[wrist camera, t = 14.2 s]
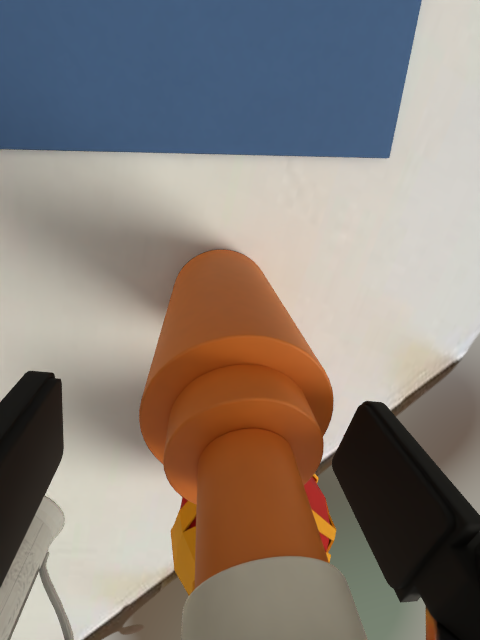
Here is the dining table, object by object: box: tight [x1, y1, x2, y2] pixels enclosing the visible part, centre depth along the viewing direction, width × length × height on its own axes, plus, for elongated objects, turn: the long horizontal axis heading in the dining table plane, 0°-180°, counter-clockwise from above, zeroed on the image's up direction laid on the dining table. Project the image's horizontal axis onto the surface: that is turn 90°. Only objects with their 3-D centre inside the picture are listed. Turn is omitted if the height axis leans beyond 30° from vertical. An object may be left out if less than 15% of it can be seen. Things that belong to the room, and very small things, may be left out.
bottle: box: [139, 250, 368, 640], centre depth 12 cm, size 6×6×17 cm
